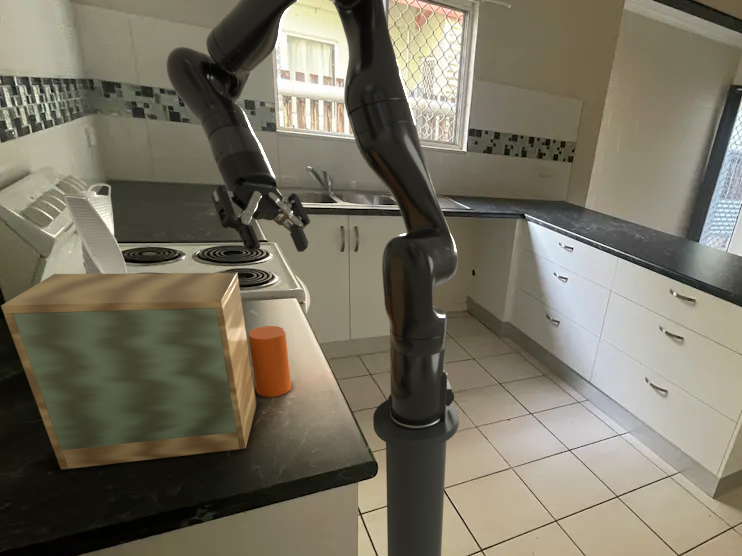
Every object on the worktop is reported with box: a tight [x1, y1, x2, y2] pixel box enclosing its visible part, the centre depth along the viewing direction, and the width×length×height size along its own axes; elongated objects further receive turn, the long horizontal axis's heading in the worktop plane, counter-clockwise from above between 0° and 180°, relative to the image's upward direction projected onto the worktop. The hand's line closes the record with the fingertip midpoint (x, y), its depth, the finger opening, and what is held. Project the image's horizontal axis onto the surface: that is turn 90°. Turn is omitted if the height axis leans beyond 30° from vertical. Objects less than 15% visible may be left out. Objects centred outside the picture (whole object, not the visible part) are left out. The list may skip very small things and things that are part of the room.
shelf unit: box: [0, 272, 257, 470], centre depth 66 cm, size 22×12×23 cm, turn 109°
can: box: [247, 325, 292, 398], centre depth 82 cm, size 6×6×11 cm
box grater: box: [63, 182, 128, 274], centre depth 102 cm, size 8×8×28 cm
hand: (280, 249), depth 77 cm, fingers open, 8 cm apart
